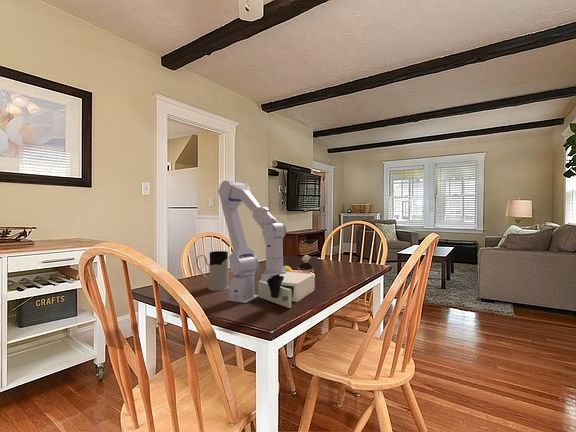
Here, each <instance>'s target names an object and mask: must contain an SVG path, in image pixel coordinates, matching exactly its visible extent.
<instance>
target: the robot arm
mask: <svg viewBox="0 0 576 432" xmlns="http://www.w3.org/2000/svg"><path fill="white" fill-rule="evenodd" d="M217 192H218V196H219V199H220V203H221V208H222V212H223V216H224V220H225V224H226V226H227V227H226V228H227V232H228V235H229V238H230V243H231V247H232V251H231V253H230V254H229V255H228V261H229V270H230V272H231V274H232V275H233V278H231V279H230V281H229V282H228V284H229V289H228V295H229V296H228V298H227V301H228V302H229V301H230V302H237V303H242V304H246V303H248V302H251V301H252V300H254V299H257V298H259V297H258V294H255V274H256V271H257V270H258V269H259V260H258V258H257V256H256V254H255V251H254V250H253V249H251V248H250V247H249V246H248V243H247V239H246V236H245V232H244V229H243V225H242V222H241V218H240V214H239V211H238V207H239V206H240V205H241V204H242V203H243V204H244V205H245V206H246V207H247V208H248V209H249V210H250V212H252V218H253V220H254V221H255V222H256V223H257V225H258V226H259V227H260V229H261V230H262V231H261V234H262V237H263V239H264V243H265V270H264V272H263V273H261V274H260V275H261V276H260V277H261V278H260V280H264V281H267V283H268V285H269V288H270V292H271V298H278V296H279V289H280V286H281V283H282V281H283V279H284V276H280V274H285V273H286V267H283V266H284V255H283V254H284V250H283V249H284V246H283V244H284V243H283V242H284V237H286V234H287V228H286V225H285V224H284V222H282V221H278V220H277V218H276V217H274V216H273V215H272V213H271V212H270V211H269V210H270V209H269V208H268V207H264V206H261V205H260V203H259V202H258V201H257V200H256V198H255V196H253V194H252V192H251V187H250V186H249V185H248V184H247V183H246V182H244V181H229V180H223V181H222V182H221V183H220V185H219V188H218V190H217Z"/></svg>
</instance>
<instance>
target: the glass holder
mask: <svg viewBox="0 0 576 432" xmlns="http://www.w3.org/2000/svg"><path fill="white" fill-rule="evenodd" d="M201 256H202V257H203V258H204V259H205V264H206V266H208V271H209V272H208V273H209V278H208V276H207V275H205V274H204V273H203V271H201V269H200V266H199V262H198V261H199V257H201ZM196 267H197V271H199V273H200V274H201V275H202V276H203V277H204V278H205V279H207V281H208V283H209V285H208V290H210V291H225V290H229V252H228V251H225V250H216V251H210V252H209V264H208V258H207V257H206V256H205V255H204V254H199V255H198V256H197V257H196Z"/></svg>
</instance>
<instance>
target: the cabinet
mask: <svg viewBox="0 0 576 432" xmlns="http://www.w3.org/2000/svg"><path fill="white" fill-rule="evenodd" d="M315 275H316V274H315V273H310V274H307V273H302V272H295V271H292V272H286V273H285V274H280V276H284V279H283V281H282V283H281V287H284V288H288V289H291V302H295V303H298V302H300V301H301V300H302V299H303V298H305V297H307V296H308V295H309V294H311V293H312V292H314V291H315V290H316V289H315V288H316V284H315V283H316V281H315V279H316V276H315ZM259 281H263V282H267V281H264V280H261V279H260V280H259Z"/></svg>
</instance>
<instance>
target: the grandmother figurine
mask: <svg viewBox="0 0 576 432" xmlns="http://www.w3.org/2000/svg"><path fill="white" fill-rule="evenodd" d="M301 261H303V262H302V263H301V264H299V265H298V268H297V271H298V272H300V271H301V269H302V272H301V273H307V274H315V271H314V267H313V266H312V264H310V263H309V262H310V256H309V255H308V254H304V255H303V256H302V258H301Z"/></svg>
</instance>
